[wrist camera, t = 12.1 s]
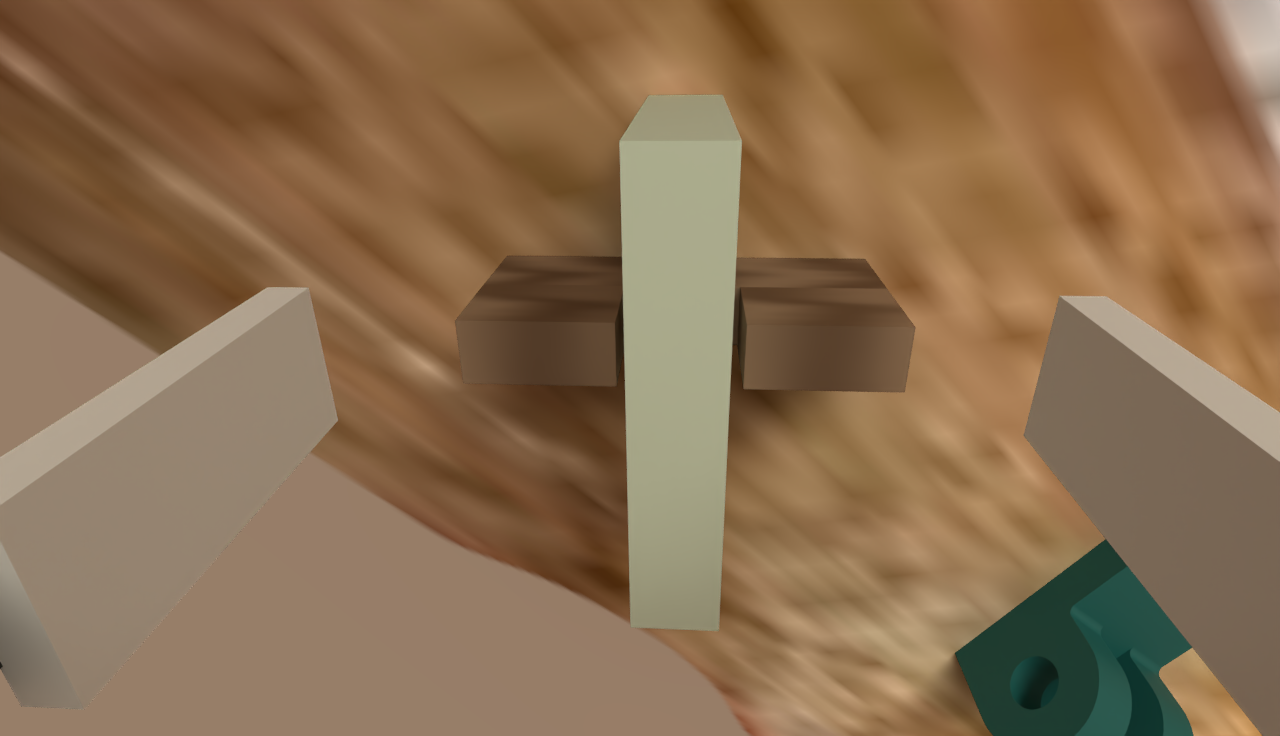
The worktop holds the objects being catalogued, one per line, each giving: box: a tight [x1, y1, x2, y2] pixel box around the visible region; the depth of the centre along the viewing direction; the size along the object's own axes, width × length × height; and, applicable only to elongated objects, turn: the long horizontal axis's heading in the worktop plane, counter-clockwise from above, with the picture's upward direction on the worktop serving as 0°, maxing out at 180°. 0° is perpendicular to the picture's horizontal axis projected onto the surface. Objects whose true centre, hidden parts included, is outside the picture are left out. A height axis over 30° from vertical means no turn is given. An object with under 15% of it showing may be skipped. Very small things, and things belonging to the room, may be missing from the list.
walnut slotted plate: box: [455, 256, 915, 392], centre depth 29 cm, size 16×2×8 cm, turn 91°
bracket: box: [955, 540, 1193, 736], centre depth 35 cm, size 18×7×8 cm, turn 144°
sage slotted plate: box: [619, 95, 742, 631], centre depth 27 cm, size 16×3×13 cm, turn 1°
